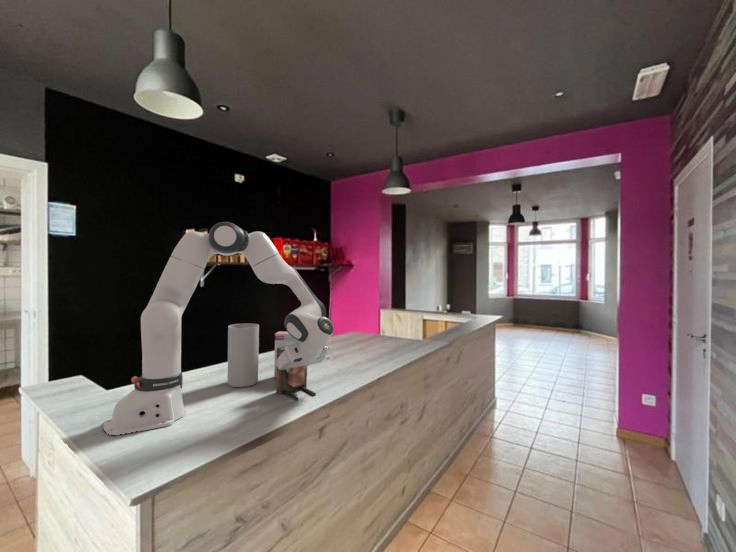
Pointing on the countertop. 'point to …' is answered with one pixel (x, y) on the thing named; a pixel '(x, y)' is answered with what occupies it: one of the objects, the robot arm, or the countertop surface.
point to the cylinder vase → (243, 354)
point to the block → (296, 376)
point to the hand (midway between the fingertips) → (295, 369)
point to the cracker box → (282, 344)
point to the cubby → (282, 381)
